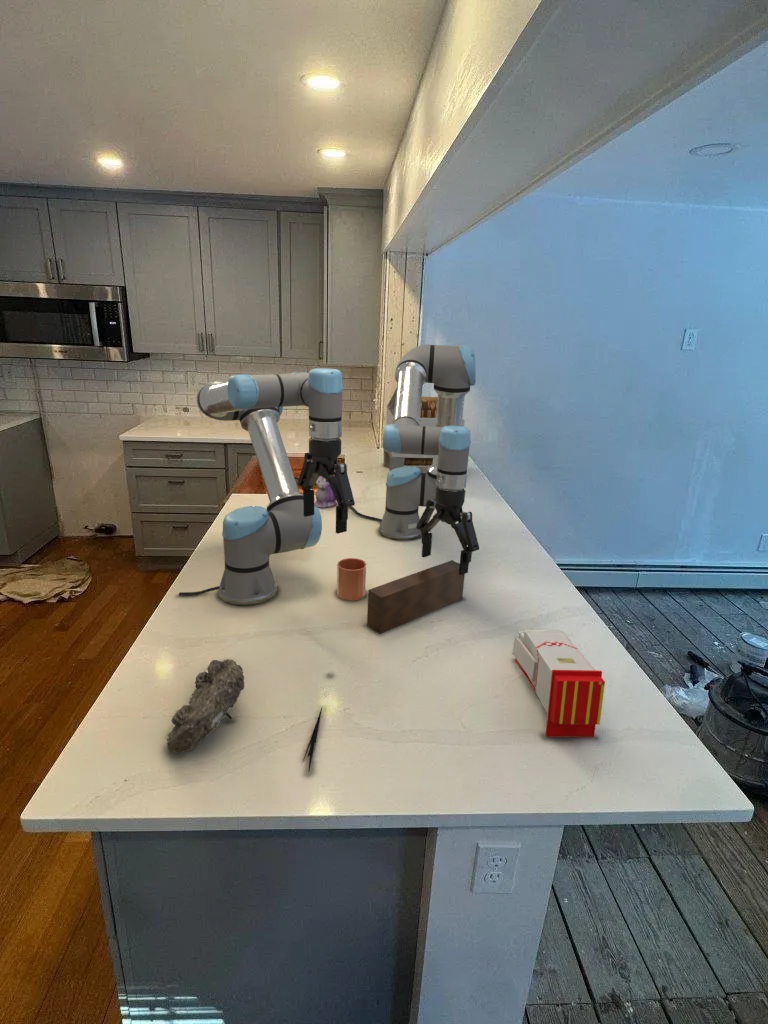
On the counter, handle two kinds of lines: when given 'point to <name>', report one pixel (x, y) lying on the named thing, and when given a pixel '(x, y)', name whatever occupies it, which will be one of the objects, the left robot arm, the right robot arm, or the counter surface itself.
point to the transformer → (425, 420)
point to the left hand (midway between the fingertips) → (324, 523)
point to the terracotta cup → (351, 579)
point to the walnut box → (414, 596)
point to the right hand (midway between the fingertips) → (444, 564)
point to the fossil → (206, 705)
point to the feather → (313, 740)
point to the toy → (561, 681)
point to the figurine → (324, 493)
